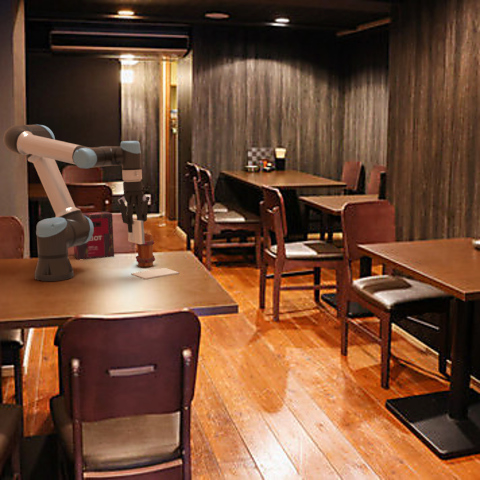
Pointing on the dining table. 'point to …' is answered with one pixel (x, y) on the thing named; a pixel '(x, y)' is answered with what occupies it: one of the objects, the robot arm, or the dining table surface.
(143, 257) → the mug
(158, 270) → the mat
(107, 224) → the box
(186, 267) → the dining table surface
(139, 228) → the tile
